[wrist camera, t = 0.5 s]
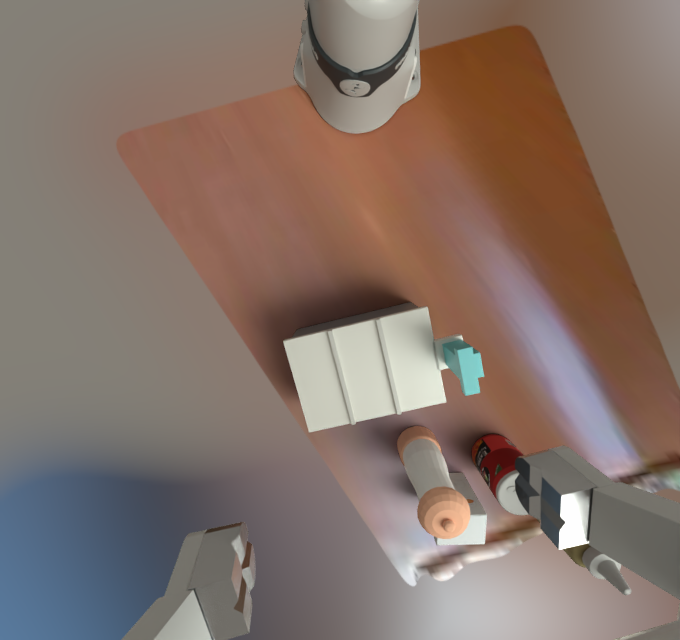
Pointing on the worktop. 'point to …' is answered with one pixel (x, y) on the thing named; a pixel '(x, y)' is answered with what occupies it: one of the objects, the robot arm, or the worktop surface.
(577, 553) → the squeeze bottle
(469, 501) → the small box
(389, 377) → the lid
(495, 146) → the worktop surface
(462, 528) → the pepper shaker
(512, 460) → the canned food
